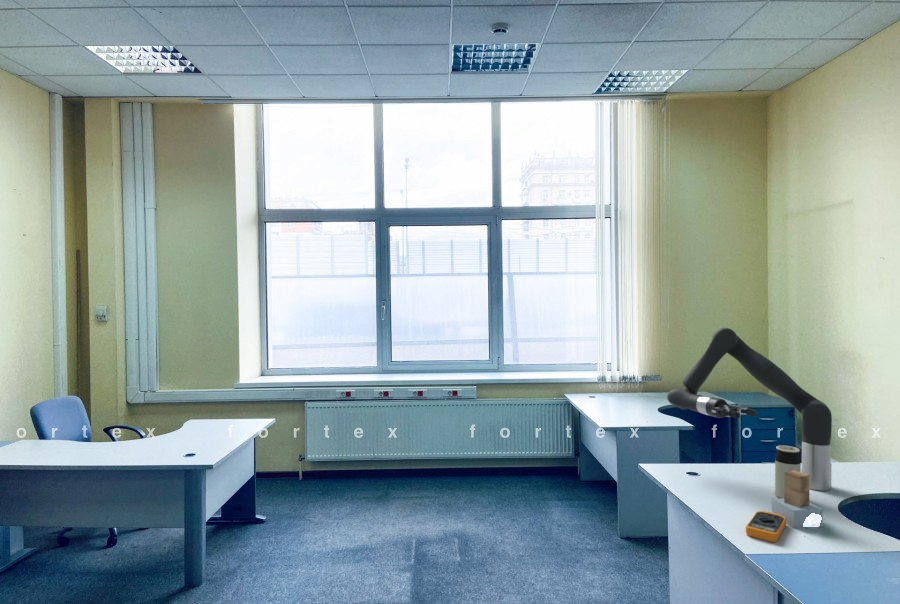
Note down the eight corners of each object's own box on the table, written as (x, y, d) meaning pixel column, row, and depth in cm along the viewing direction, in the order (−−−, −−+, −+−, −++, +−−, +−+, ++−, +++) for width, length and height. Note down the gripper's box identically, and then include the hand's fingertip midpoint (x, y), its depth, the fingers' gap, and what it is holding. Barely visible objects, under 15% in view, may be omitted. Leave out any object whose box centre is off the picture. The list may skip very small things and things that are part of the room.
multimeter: (787, 525, 176) (787, 515, 176) (776, 545, 162) (776, 533, 162) (757, 518, 181) (757, 508, 181) (744, 536, 168) (744, 525, 167)
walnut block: (794, 499, 182) (794, 470, 181) (809, 505, 177) (809, 474, 177) (784, 502, 180) (784, 472, 179) (799, 507, 175) (799, 477, 175)
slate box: (799, 515, 184) (799, 497, 184) (822, 527, 174) (822, 509, 174) (771, 516, 183) (772, 498, 183) (793, 529, 173) (793, 510, 173)
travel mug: (787, 501, 195) (787, 451, 195) (769, 493, 203) (770, 445, 203) (805, 499, 197) (806, 450, 197) (787, 492, 205) (788, 444, 204)
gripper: (698, 398, 214) (734, 406, 199) (724, 395, 219) (761, 403, 204) (698, 417, 214) (733, 426, 199) (724, 414, 219) (761, 422, 204)
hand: (747, 414), depth 202 cm, fingers open, 8 cm apart
